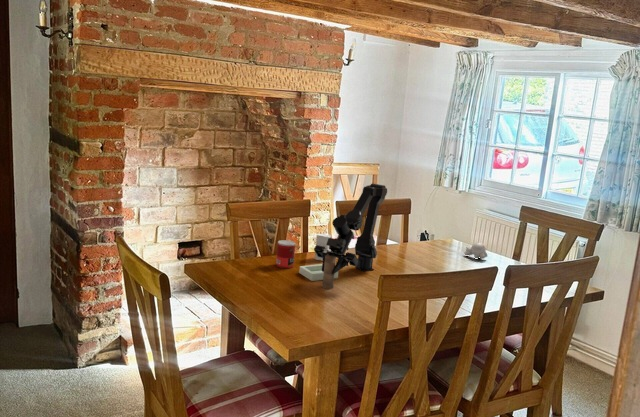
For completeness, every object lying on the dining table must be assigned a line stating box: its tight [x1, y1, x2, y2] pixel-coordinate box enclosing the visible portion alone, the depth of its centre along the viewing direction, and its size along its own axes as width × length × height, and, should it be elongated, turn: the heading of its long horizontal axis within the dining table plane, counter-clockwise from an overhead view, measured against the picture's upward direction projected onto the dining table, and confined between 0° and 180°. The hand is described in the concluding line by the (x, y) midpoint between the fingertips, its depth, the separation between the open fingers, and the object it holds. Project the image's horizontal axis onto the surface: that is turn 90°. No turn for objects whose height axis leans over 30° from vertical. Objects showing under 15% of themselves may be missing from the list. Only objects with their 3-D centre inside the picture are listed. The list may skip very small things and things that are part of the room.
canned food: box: [275, 239, 296, 269], centre depth 259 cm, size 8×8×11 cm
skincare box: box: [314, 233, 332, 262], centre depth 273 cm, size 6×4×12 cm
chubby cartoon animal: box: [463, 242, 488, 260], centre depth 300 cm, size 7×12×8 cm, turn 49°
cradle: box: [298, 263, 340, 282], centre depth 250 cm, size 13×11×3 cm
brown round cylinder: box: [321, 255, 337, 290], centre depth 236 cm, size 4×4×13 cm
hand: (327, 272), depth 235 cm, fingers closed on brown round cylinder, 4 cm apart
